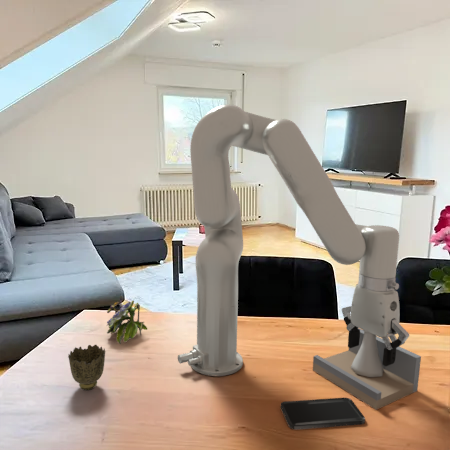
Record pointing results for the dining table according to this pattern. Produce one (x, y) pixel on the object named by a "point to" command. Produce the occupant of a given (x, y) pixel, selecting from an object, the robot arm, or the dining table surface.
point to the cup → (87, 365)
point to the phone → (321, 413)
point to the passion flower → (130, 325)
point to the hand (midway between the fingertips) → (370, 354)
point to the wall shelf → (372, 386)
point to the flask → (368, 358)
